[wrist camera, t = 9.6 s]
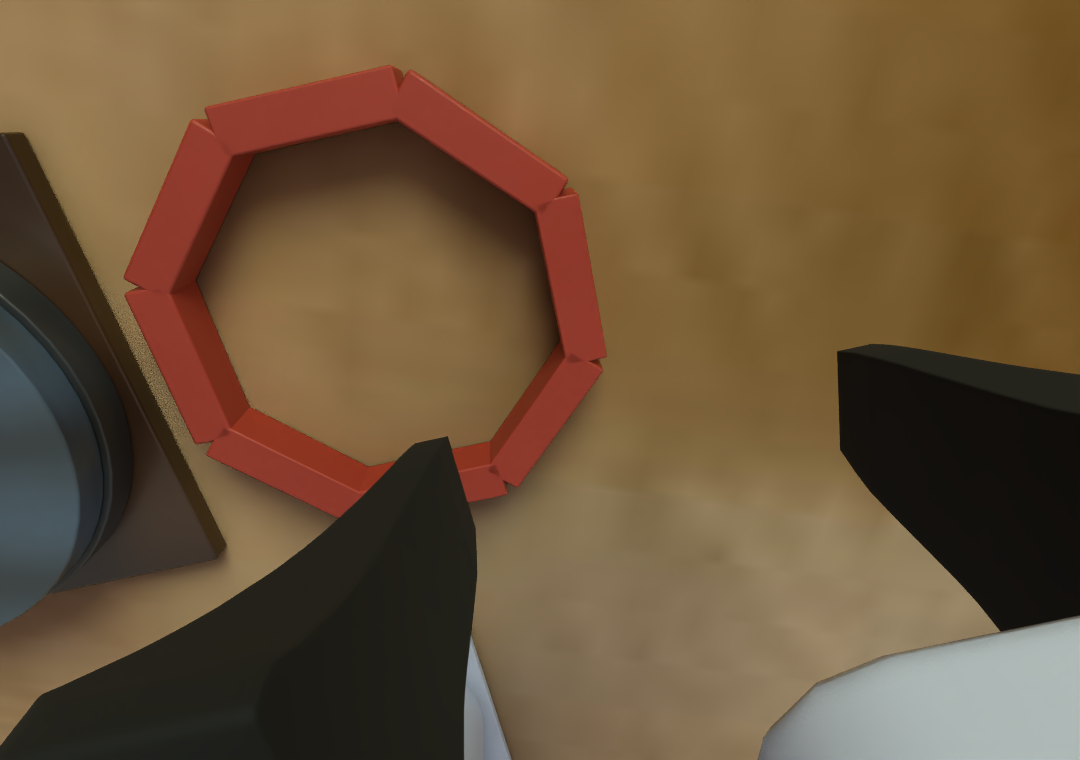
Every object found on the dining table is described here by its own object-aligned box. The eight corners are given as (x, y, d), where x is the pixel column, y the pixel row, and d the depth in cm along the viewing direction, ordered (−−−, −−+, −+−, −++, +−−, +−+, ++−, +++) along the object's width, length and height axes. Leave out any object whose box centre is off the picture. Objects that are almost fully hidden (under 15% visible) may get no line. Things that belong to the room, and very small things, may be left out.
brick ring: (618, 446, 21) (627, 470, 20) (262, 520, 21) (244, 550, 20) (544, 36, 16) (549, 28, 15) (89, 140, 17) (49, 142, 15)
